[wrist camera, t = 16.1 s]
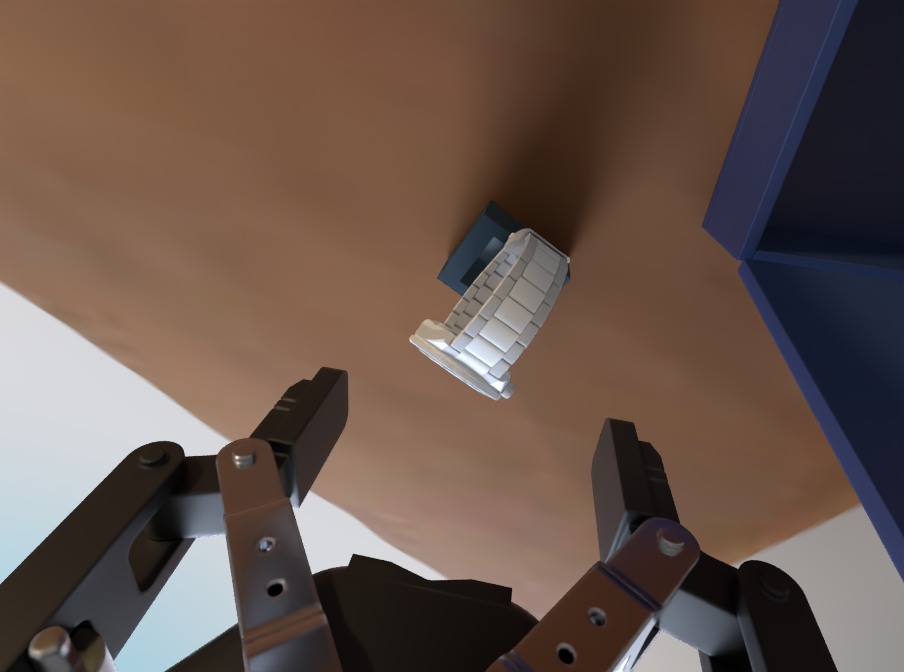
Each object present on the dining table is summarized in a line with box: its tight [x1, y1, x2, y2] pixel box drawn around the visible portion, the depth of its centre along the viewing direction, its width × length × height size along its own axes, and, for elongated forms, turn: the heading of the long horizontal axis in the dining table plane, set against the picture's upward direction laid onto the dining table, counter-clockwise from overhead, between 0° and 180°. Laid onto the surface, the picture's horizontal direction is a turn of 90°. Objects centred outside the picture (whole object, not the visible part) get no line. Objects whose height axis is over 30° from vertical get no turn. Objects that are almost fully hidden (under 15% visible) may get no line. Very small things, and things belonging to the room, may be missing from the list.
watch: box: [409, 200, 570, 401], centre depth 24 cm, size 6×8×11 cm
